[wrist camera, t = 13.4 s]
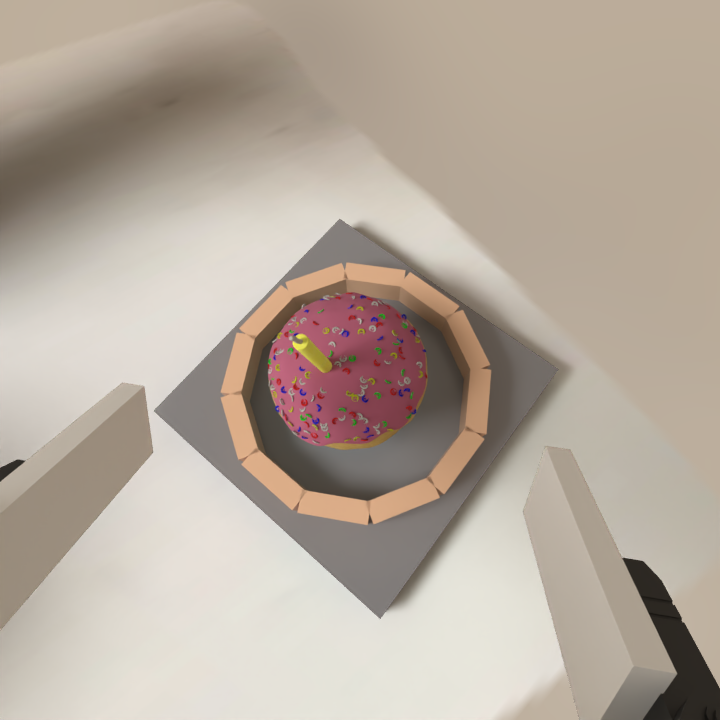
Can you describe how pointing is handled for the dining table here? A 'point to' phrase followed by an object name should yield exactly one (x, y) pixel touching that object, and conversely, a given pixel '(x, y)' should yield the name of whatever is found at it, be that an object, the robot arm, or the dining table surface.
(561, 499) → the robot arm
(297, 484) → the ring dish
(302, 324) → the cupcake
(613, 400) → the dining table surface
